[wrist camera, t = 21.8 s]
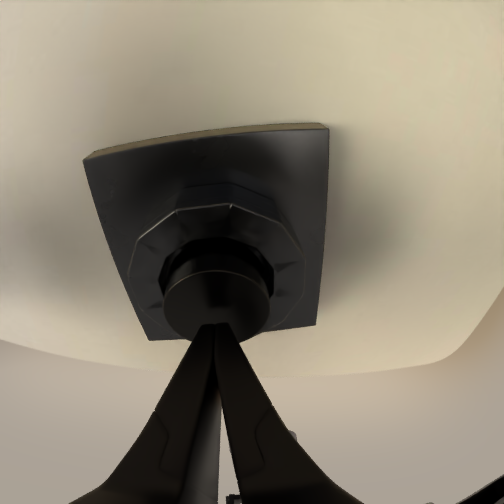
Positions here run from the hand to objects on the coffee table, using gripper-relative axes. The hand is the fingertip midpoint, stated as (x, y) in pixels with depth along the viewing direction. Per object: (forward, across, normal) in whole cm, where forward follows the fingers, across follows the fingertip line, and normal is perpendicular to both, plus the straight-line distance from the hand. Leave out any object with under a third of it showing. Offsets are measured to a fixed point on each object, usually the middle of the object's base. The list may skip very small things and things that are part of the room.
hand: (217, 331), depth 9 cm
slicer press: (+5, 0, 0) cm, 5 cm away
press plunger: (+2, 0, 0) cm, 2 cm away
